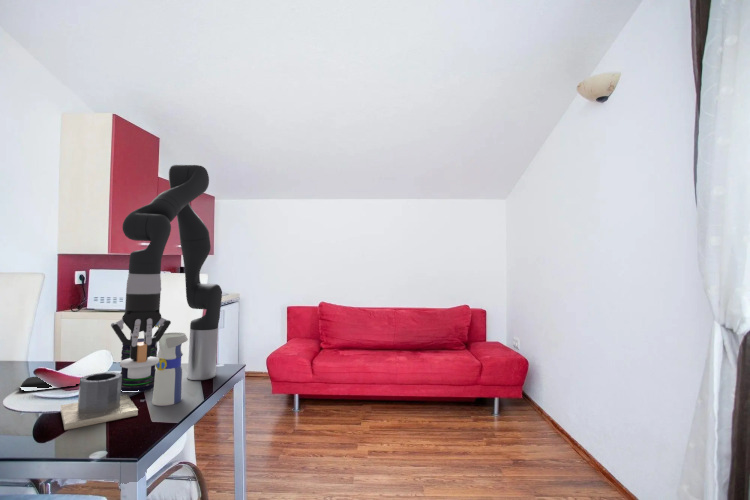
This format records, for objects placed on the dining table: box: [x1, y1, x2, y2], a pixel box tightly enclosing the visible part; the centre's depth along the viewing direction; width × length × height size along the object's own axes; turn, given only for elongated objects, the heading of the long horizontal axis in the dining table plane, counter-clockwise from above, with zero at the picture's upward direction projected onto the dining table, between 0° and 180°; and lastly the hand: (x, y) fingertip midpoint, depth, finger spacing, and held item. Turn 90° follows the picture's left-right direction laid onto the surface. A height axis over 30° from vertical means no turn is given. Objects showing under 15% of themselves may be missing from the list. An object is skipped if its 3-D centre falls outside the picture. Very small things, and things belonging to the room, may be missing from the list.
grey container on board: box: [60, 371, 139, 431], centre depth 101 cm, size 15×15×10 cm
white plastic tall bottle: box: [151, 321, 189, 406], centre depth 112 cm, size 8×9×25 cm
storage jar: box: [119, 337, 158, 393], centre depth 122 cm, size 10×10×15 cm
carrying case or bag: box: [19, 376, 52, 393], centre depth 121 cm, size 11×3×15 cm
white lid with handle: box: [119, 342, 159, 379], centre depth 96 cm, size 8×8×8 cm
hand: (139, 359), depth 96 cm, fingers closed on white lid with handle
